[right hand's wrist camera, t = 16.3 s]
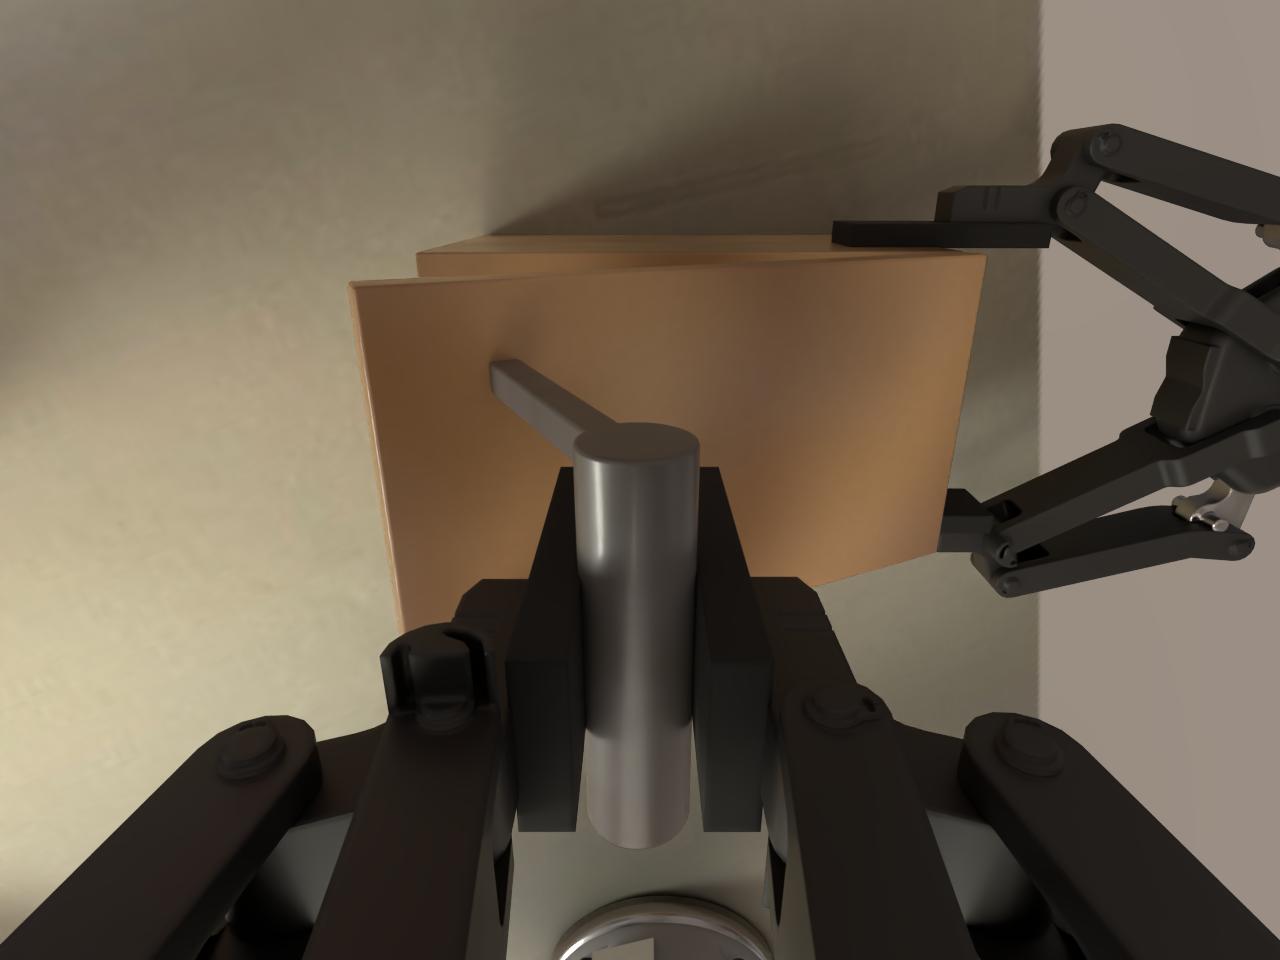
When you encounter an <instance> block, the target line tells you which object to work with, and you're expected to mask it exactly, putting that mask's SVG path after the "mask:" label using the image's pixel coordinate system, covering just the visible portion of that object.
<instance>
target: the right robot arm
mask: <svg viewBox="0 0 1280 960" xmlns="http://www.w3.org/2000/svg"><path fill="white" fill-rule="evenodd" d="M380 662H381V668H382V674H383V680H384V687H385V693H386V699H387V705H388V711H389V715H388V718H387V721H386V722H385V723H383V724H381V725H379V726H377V727H375V728H372V729H369V730H365V731H362V732H359V733H355V734H351V735H346V736H342V737H337V738H333V739H328V740H324V741H319V742H316V737H315V733H314V730H313V729H312V728H311V727H310V726H309V725H308V724H307V723H306V722H305V720H302V719H298V718H295V717H292V716H288V715H280V716H263V717H259V718H256V719H252V720H248V721H244V722H241V723H239V724H236V725H234V726H232V727H230V728H228V729H226V730H224V731H222V732H220V733H218V734H216V735H215V736H214V737H213V738H211V739H210V740H209V741H207V742H206V743H205V744H203V745H202V746H201V747H200V748H198V749H197V750H196V751H195V752H194V753H193V754H192V755H191V756H190V757H189V758H188V759H187V760H186V761H185V762H184V763H183V764H182V765H181V766H180V767H179V768H178V769H177V770H176V771H175V772H174V773H173V774H172V775H171V776H170V777H169V778H168V779H167V780H166V781H165V782H164V783H163V784H162V785H161V786H160V787H159V788H158V789H157V790H156V791H155V792H154V793H153V794H152V795H151V796H150V797H149V798H148V799H147V800H146V801H145V802H144V803H143V804H142V805H141V806H140V807H139V808H138V809H137V810H136V811H135V812H134V813H133V814H132V815H131V816H130V817H129V818H128V819H127V820H126V821H125V822H124V823H123V824H122V825H121V826H120V827H119V828H118V829H117V830H116V831H115V832H113V833H112V834H111V835H110V836H109V837H108V838H107V839H106V840H105V841H104V842H103V843H102V844H101V845H100V846H99V847H98V848H97V849H96V850H95V851H94V852H93V853H92V854H91V855H90V856H89V857H88V858H87V859H86V860H85V861H84V862H83V863H82V864H81V865H80V866H79V867H78V868H77V869H76V870H75V871H74V872H73V873H72V874H71V875H70V876H69V877H68V878H67V879H66V880H65V881H64V882H63V883H62V884H61V885H60V886H59V887H58V888H57V889H56V890H55V891H54V892H53V893H52V894H51V895H50V896H49V897H48V898H47V899H46V900H45V901H44V902H43V903H42V904H41V905H40V906H39V907H38V908H37V909H36V910H35V911H34V912H33V913H32V914H31V915H30V916H29V917H28V918H27V919H26V920H25V921H24V922H23V923H22V924H21V925H20V926H19V927H18V928H17V929H16V930H15V931H14V932H13V933H12V934H11V935H10V936H8V937H7V938H6V939H5V940H4V941H3V942H2V943H1V944H0V960H506V953H507V942H508V930H509V919H510V907H511V896H512V884H513V873H514V858H513V847H512V836H511V833H512V828H513V823H514V818H515V813H516V808H517V817H518V829H519V832H576V822H577V812H578V802H579V792H580V782H581V772H582V762H583V752H584V742H585V732H586V718H585V690H584V662H583V634H582V606H581V579H580V577H579V575H578V570H577V547H576V521H575V496H574V471H573V467H560V471H559V474H558V478H557V481H556V485H555V488H554V491H553V495H552V498H551V502H550V505H549V509H548V512H547V516H546V519H545V523H544V526H543V529H542V533H541V536H540V540H539V543H538V547H537V550H536V554H535V557H534V561H533V564H532V567H531V571H530V574H529V578H528V579H481V580H480V581H479V582H478V583H477V584H475V585H474V586H473V587H472V588H470V589H469V590H468V591H467V592H466V593H464V594H463V595H462V598H461V600H460V602H459V605H458V607H457V609H456V611H455V616H454V617H453V618H452V620H451V622H444V623H438V624H431V625H425V626H422V627H420V628H417V629H414V630H411V631H409V632H406V633H404V634H403V635H401V636H400V637H398V638H397V639H395V640H394V641H392V642H391V643H389V644H388V646H387V647H386V649H385V650H384V651H383V653H382V654H381V655H380ZM692 719H693V729H694V739H695V749H696V759H697V769H698V779H699V789H700V799H701V809H702V819H703V829H704V832H761V820H762V808H764V813H765V818H766V823H767V828H768V833H769V836H768V847H767V858H766V869H765V880H764V891H763V902H762V907H764V908H770V917H771V929H772V940H773V952H774V960H1280V940H1279V939H1278V938H1277V937H1276V936H1275V935H1274V934H1273V933H1272V932H1271V931H1270V930H1269V929H1268V928H1267V927H1266V926H1265V925H1264V924H1263V923H1262V922H1261V921H1260V920H1259V919H1258V918H1257V917H1256V916H1255V915H1254V914H1253V913H1252V912H1251V911H1250V910H1249V909H1247V907H1245V906H1244V905H1243V904H1242V903H1241V902H1240V901H1239V900H1238V899H1237V898H1236V897H1235V896H1234V895H1233V894H1232V893H1231V892H1230V891H1229V890H1228V889H1227V888H1226V887H1225V886H1224V885H1223V884H1222V883H1221V882H1220V881H1219V880H1218V879H1217V878H1216V877H1215V876H1214V875H1213V874H1212V873H1211V872H1210V871H1209V870H1208V869H1207V868H1206V867H1205V866H1204V865H1203V864H1202V863H1201V862H1200V861H1199V860H1198V859H1197V858H1196V857H1195V856H1194V855H1193V854H1192V853H1191V852H1190V851H1188V849H1187V848H1186V847H1184V846H1183V845H1182V844H1181V843H1180V842H1179V841H1178V840H1177V839H1176V838H1175V837H1174V836H1173V835H1172V834H1171V833H1170V832H1169V831H1168V830H1167V829H1166V828H1165V827H1164V826H1163V825H1162V824H1161V823H1160V822H1159V821H1158V820H1157V819H1156V818H1155V817H1154V816H1153V815H1152V814H1151V813H1150V812H1149V811H1148V810H1147V809H1146V808H1145V807H1144V806H1143V805H1142V804H1141V803H1140V802H1139V801H1138V800H1137V799H1136V798H1135V797H1134V796H1133V795H1132V794H1131V793H1130V792H1129V791H1128V790H1127V789H1126V788H1124V787H1123V786H1122V785H1121V784H1120V783H1119V782H1118V781H1117V780H1116V779H1115V778H1114V777H1113V776H1112V775H1111V774H1110V773H1109V772H1108V771H1107V770H1106V769H1105V768H1104V767H1103V766H1102V765H1101V764H1100V763H1099V762H1098V761H1097V760H1096V759H1095V758H1094V757H1093V756H1092V755H1091V754H1090V753H1089V752H1088V751H1087V750H1086V749H1085V748H1084V747H1083V746H1082V745H1080V744H1079V743H1078V742H1077V741H1075V740H1074V739H1073V738H1071V737H1070V736H1069V735H1067V734H1066V733H1065V732H1063V731H1062V730H1060V729H1058V728H1056V727H1054V726H1052V725H1050V724H1048V723H1046V722H1043V721H1041V720H1039V719H1036V718H1032V717H1028V716H1024V715H1021V714H1017V713H1000V712H992V713H988V714H985V715H981V716H978V717H975V718H974V719H973V720H972V721H971V722H970V723H969V725H968V726H967V727H966V729H965V733H964V738H963V739H959V738H955V737H951V736H946V735H942V734H937V733H933V732H928V731H924V730H920V729H917V728H914V727H910V726H907V725H904V724H902V723H900V722H898V721H896V720H894V719H893V717H892V714H891V712H890V710H889V709H888V707H887V706H886V704H885V703H884V701H883V700H882V699H881V698H880V697H879V696H878V695H876V694H875V693H874V692H872V691H871V690H870V689H868V688H867V687H865V686H862V685H860V684H858V683H857V682H856V680H855V678H854V675H853V673H852V671H851V669H850V666H849V664H848V662H847V660H846V657H845V655H844V653H843V651H842V648H841V646H840V644H839V642H838V639H837V637H836V635H835V633H834V631H832V626H831V624H830V621H829V619H828V617H827V615H825V610H824V608H823V606H822V603H821V601H820V599H819V597H818V594H817V592H815V591H814V590H813V589H812V588H810V587H809V586H808V585H807V584H806V583H804V582H803V581H802V580H801V579H799V578H798V577H750V574H749V570H748V567H747V563H746V560H745V556H744V553H743V549H742V546H741V542H740V539H739V536H738V532H737V529H736V525H735V522H734V518H733V515H732V511H731V508H730V504H729V501H728V497H727V494H726V491H725V487H724V484H723V480H722V477H721V473H720V470H719V467H700V474H699V506H698V538H697V570H696V602H695V634H694V667H693V699H692Z"/></svg>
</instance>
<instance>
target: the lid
mask: <svg viewBox="0 0 1280 960" xmlns="http://www.w3.org/2000/svg"><path fill="white" fill-rule="evenodd" d="M986 261H987V255H985V254H978V253H965V252H948V253H927V254H906V255H886V256H865V257H844V258H824V259H803V260H782V261H761V262H741V263H720V264H699V265H679V266H658V267H637V268H616V269H596V270H575V271H554V272H534V273H513V274H492V275H472V276H451V277H430V278H409V279H389V280H368V281H351V282H349V283H348V286H347V288H348V294H349V301H350V308H351V314H352V321H353V327H354V334H355V341H356V347H357V354H358V361H359V367H360V374H361V381H362V387H363V394H364V401H365V407H366V414H367V421H368V427H369V434H370V441H371V447H372V454H373V461H374V467H375V474H376V481H377V487H378V494H379V501H380V507H381V514H382V520H383V527H384V534H385V540H386V547H387V554H388V560H389V567H390V574H391V580H392V587H393V594H394V600H395V607H396V614H397V620H398V627H399V634H400V636H401V635H403V634H404V633H406V632H409V631H411V630H414V629H417V628H420V627H422V626H425V625H431V624H438V623H444V622H451V620H452V618H453V617H454V616H455V611H456V609H457V607H458V605H459V602H460V600H461V598H462V595H463V594H464V593H466V592H467V591H468V590H469V589H470V588H472V587H473V586H474V585H475V584H477V583H478V582H479V581H480V580H481V579H528V578H529V574H530V571H531V567H532V564H533V561H534V557H535V554H536V550H537V547H538V543H539V540H540V536H541V533H542V529H543V526H544V523H545V519H546V516H547V512H548V509H549V505H550V502H551V498H552V495H553V491H554V488H555V485H556V481H557V478H558V474H559V471H560V467H573V471H574V496H575V521H576V547H577V570H578V575H579V577H580V579H581V606H582V634H583V662H584V690H585V718H586V732H585V742H584V750H585V776H586V801H587V814H588V818H589V821H590V823H591V825H592V826H593V828H594V829H595V831H596V832H597V833H598V834H599V835H600V836H601V837H602V838H603V839H605V840H606V841H608V842H610V843H612V844H614V845H616V846H619V847H623V848H627V849H648V848H653V847H656V846H659V845H662V844H664V843H666V842H668V841H669V840H671V839H672V838H673V837H674V836H676V835H677V834H678V832H679V831H680V830H681V829H682V827H683V826H684V824H685V822H686V820H687V817H688V813H689V795H690V763H691V731H692V699H693V667H694V634H695V602H696V570H697V538H698V506H699V474H700V467H719V470H720V473H721V477H722V480H723V484H724V487H725V491H726V494H727V497H728V501H729V504H730V508H731V511H732V515H733V518H734V522H735V525H736V529H737V532H738V536H739V539H740V542H741V546H742V549H743V553H744V556H745V560H746V563H747V567H748V570H749V574H750V577H798V578H799V579H801V580H802V581H803V582H804V583H806V584H807V585H808V586H809V587H810V588H813V587H817V586H820V585H824V584H827V583H831V582H834V581H838V580H841V579H845V578H848V577H852V576H855V575H859V574H862V573H866V572H869V571H873V570H876V569H880V568H883V567H887V566H890V565H894V564H897V563H901V562H904V561H908V560H911V559H915V558H918V557H922V556H925V555H929V554H932V553H935V552H936V551H937V547H938V541H939V535H940V529H941V523H942V518H943V512H944V506H945V500H946V494H947V488H948V483H949V477H950V471H951V465H952V459H953V453H954V448H955V442H956V436H957V430H958V424H959V418H960V413H961V407H962V401H963V395H964V389H965V383H966V378H967V372H968V366H969V360H970V354H971V348H972V343H973V337H974V331H975V325H976V319H977V313H978V308H979V302H980V296H981V290H982V284H983V278H984V273H985V267H986Z"/></svg>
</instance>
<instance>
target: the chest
mask: <svg viewBox="0 0 1280 960" xmlns="http://www.w3.org/2000/svg"><path fill="white" fill-rule="evenodd" d="M831 240H832V235H484V236H480V237H476V238H472V239H468V240H464V241H460V242H456V243H453V244H449V245H445V246H441V247H437V248H433V249H429V250H425V251H421V252H418V253H416V261H417V269H418V276H419V278H430V277H451V276H472V275H492V274H513V273H534V272H554V271H575V270H596V269H616V268H637V267H658V266H679V265H699V264H720V263H741V262H761V261H782V260H803V259H824V258H844V257H865V256H886V255H906V254H927V253H948V252H962V251H957V250H951V249H946V248H940V247H848V246H844V245H840V244H836V243H832V242H831Z"/></svg>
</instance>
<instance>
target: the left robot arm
mask: <svg viewBox="0 0 1280 960" xmlns="http://www.w3.org/2000/svg"><path fill="white" fill-rule="evenodd" d="M1050 153H1051V161H1050V163H1049V165H1048V167H1047V169H1046V170H1045V172H1044V173H1043V175H1042V176H1041V177H1040V178H1039V179H1038V180H1037V181H1035V182H1033V183H1032V184H1029V185H1026V186H953V187H950V188H948V189H945V190H943V191H940V192H938V197H937V204H936V211H935V218H934V221H833V229H832V240H831V242H832V243H836V244H840V245H844V246H848V247H940V248H1049V244H1050V239H1051V237H1052V238H1054V239H1055V240H1057V241H1058V242H1060V243H1061V244H1063V245H1064V246H1066V247H1067V248H1069V249H1070V250H1072V251H1073V252H1075V253H1076V254H1078V255H1079V256H1081V257H1082V258H1084V259H1085V260H1087V261H1088V262H1090V263H1091V264H1093V265H1094V266H1096V267H1097V268H1099V269H1100V270H1102V271H1103V272H1105V273H1106V274H1108V275H1109V276H1111V277H1112V278H1114V279H1115V280H1117V281H1118V282H1120V283H1121V284H1123V285H1124V286H1126V287H1127V288H1129V289H1130V290H1132V291H1133V292H1135V293H1136V294H1138V295H1139V296H1141V297H1142V298H1144V299H1145V300H1146V301H1148V302H1150V303H1151V304H1152V305H1154V307H1153V308H1154V309H1155V310H1156V311H1157V312H1159V313H1160V314H1162V315H1163V316H1165V317H1166V318H1168V319H1169V320H1171V321H1172V322H1174V323H1175V324H1177V325H1178V326H1180V327H1181V328H1183V329H1184V330H1183V331H1182V332H1181V334H1180V336H1172V337H1171V340H1170V344H1169V348H1168V351H1167V355H1166V377H1165V379H1164V381H1163V383H1162V385H1161V386H1160V388H1159V390H1158V392H1157V394H1156V395H1155V398H1154V402H1153V405H1152V409H1151V412H1150V415H1151V416H1153V417H1151V418H1148V419H1146V420H1144V421H1142V422H1140V423H1138V424H1135V425H1133V426H1131V427H1129V428H1127V429H1125V430H1123V431H1122V432H1121V433H1120V436H1119V439H1118V440H1116V441H1115V442H1112V443H1110V444H1108V445H1106V446H1104V447H1102V448H1100V449H1097V450H1095V451H1093V452H1091V453H1089V454H1087V455H1084V456H1082V457H1080V458H1078V459H1076V460H1073V461H1071V462H1069V463H1067V464H1065V465H1063V466H1060V467H1058V468H1056V469H1054V470H1052V471H1050V472H1047V473H1045V474H1043V475H1041V476H1039V477H1037V478H1034V479H1032V480H1030V481H1028V482H1026V483H1024V484H1021V485H1019V486H1017V487H1015V488H1013V489H1011V490H1008V491H1006V492H1004V493H1002V494H1000V495H998V496H995V497H993V498H991V499H989V500H987V501H985V502H982V503H980V502H979V501H978V500H976V499H975V498H974V497H973V496H972V495H971V494H970V493H969V492H968V491H967V490H966V489H947V494H946V500H945V506H944V512H943V518H942V523H941V529H940V535H939V541H938V547H937V551H936V552H972V554H971V559H970V560H971V562H972V564H973V566H974V567H975V568H976V569H977V570H978V571H979V572H980V573H981V575H982V576H983V577H984V578H985V579H986V580H987V581H988V583H989V584H990V585H991V586H992V587H993V588H994V589H995V590H996V592H997V593H998V594H999V595H1001V596H1002V597H1006V598H1011V597H1017V596H1021V595H1026V594H1030V593H1035V592H1039V591H1044V590H1048V589H1052V588H1057V587H1062V586H1066V585H1070V584H1075V583H1079V582H1084V581H1088V580H1093V579H1097V578H1102V577H1106V576H1111V575H1115V574H1120V573H1124V572H1129V571H1133V570H1138V569H1142V568H1147V567H1151V566H1156V565H1160V564H1165V563H1169V562H1174V561H1178V560H1183V559H1187V558H1202V559H1216V560H1229V561H1236V560H1241V559H1243V558H1245V557H1247V556H1248V555H1249V554H1250V553H1251V552H1252V550H1253V549H1254V546H1255V541H1254V538H1253V537H1252V536H1251V535H1250V534H1248V533H1246V532H1244V531H1243V530H1241V529H1240V527H1241V525H1242V523H1243V521H1244V518H1245V516H1246V514H1247V511H1248V509H1249V507H1250V504H1251V502H1252V500H1253V498H1254V495H1255V494H1260V493H1265V492H1268V491H1270V490H1273V489H1275V488H1277V487H1280V267H1279V268H1277V269H1275V270H1273V271H1272V272H1270V273H1268V274H1267V275H1265V276H1263V277H1262V278H1260V279H1258V280H1257V281H1255V282H1253V283H1252V284H1250V285H1248V286H1247V287H1245V288H1243V289H1242V290H1241V289H1238V288H1236V287H1233V286H1230V285H1228V284H1226V283H1225V282H1223V281H1222V280H1220V279H1219V278H1217V277H1216V276H1215V275H1213V274H1212V273H1210V272H1209V271H1207V270H1206V269H1204V268H1203V267H1202V266H1200V265H1199V264H1197V263H1196V262H1194V261H1193V260H1191V259H1190V258H1188V257H1187V256H1186V255H1184V254H1183V253H1181V252H1180V251H1178V250H1177V249H1176V248H1174V247H1173V246H1171V245H1170V244H1168V243H1167V242H1165V241H1164V240H1162V239H1161V238H1160V237H1158V236H1157V235H1155V234H1154V233H1152V232H1151V231H1149V230H1148V229H1146V228H1145V227H1144V226H1142V225H1141V224H1139V223H1138V222H1137V221H1135V220H1134V219H1132V218H1131V217H1129V216H1128V215H1126V214H1125V213H1123V212H1122V211H1121V210H1119V209H1118V208H1116V207H1115V206H1113V205H1112V204H1110V203H1109V202H1108V201H1106V200H1105V199H1103V198H1102V197H1100V196H1099V195H1097V194H1096V193H1095V190H1096V189H1097V187H1098V185H1099V183H1100V182H1101V181H1104V182H1107V183H1110V184H1113V185H1116V186H1119V187H1122V188H1125V189H1129V190H1132V191H1135V192H1138V193H1141V194H1144V195H1147V196H1150V197H1154V198H1157V199H1160V200H1163V201H1166V202H1169V203H1172V204H1175V205H1179V206H1182V207H1185V208H1188V209H1191V210H1194V211H1197V212H1200V213H1203V214H1207V215H1210V216H1213V217H1216V218H1219V219H1222V220H1226V221H1230V222H1236V223H1245V224H1258V225H1257V227H1256V230H1255V233H1256V235H1257V236H1258V237H1260V238H1263V241H1264V243H1265V244H1266V245H1267V246H1269V247H1273V248H1277V249H1279V250H1280V177H1278V176H1275V175H1272V174H1269V173H1266V172H1263V171H1260V170H1257V169H1254V168H1251V167H1248V166H1245V165H1242V164H1239V163H1236V162H1233V161H1230V160H1227V159H1224V158H1221V157H1218V156H1215V155H1212V154H1209V153H1206V152H1203V151H1199V150H1196V149H1193V148H1190V147H1187V146H1184V145H1181V144H1178V143H1175V142H1172V141H1169V140H1166V139H1163V138H1160V137H1157V136H1154V135H1151V134H1148V133H1145V132H1142V131H1139V130H1136V129H1133V128H1130V127H1127V126H1124V125H1121V124H1106V125H1100V126H1093V127H1087V128H1080V129H1074V130H1069V131H1066V132H1063V133H1061V134H1060V135H1059V136H1058V137H1057V138H1056V139H1055V141H1054V142H1053V144H1052V147H1051V151H1050ZM1208 477H1211V478H1212V479H1213V480H1215V481H1214V483H1213V485H1212V486H1211V487H1210V488H1209V490H1207V491H1206V492H1204V493H1202V494H1200V495H1195V496H1189V497H1187V498H1186V497H1184V496H1177V497H1175V498H1174V499H1173V501H1172V506H1149V507H1144V508H1139V509H1134V510H1130V511H1125V512H1121V513H1117V514H1112V515H1108V516H1104V517H1099V516H1102V515H1104V514H1106V513H1108V512H1111V511H1113V510H1115V509H1117V508H1120V507H1122V506H1124V505H1126V504H1128V503H1131V502H1133V501H1135V500H1138V499H1140V498H1142V497H1144V496H1147V495H1149V494H1151V493H1153V492H1156V491H1158V490H1160V489H1162V488H1165V487H1185V486H1189V485H1192V484H1195V483H1197V482H1199V481H1202V480H1204V479H1206V478H1208ZM1097 517H1099V518H1097ZM552 960H773V959H772V955H771V952H770V950H769V947H768V945H767V944H766V942H765V940H764V939H763V938H762V936H761V935H760V934H759V932H758V931H757V930H756V929H755V928H754V927H753V926H752V925H750V924H749V923H748V922H747V921H745V920H744V919H743V918H741V917H740V916H738V915H736V914H735V913H733V912H731V911H729V910H727V909H725V908H722V907H720V906H718V905H715V904H712V903H709V902H705V901H702V900H698V899H692V898H687V897H678V896H646V897H638V898H632V899H627V900H623V901H619V902H616V903H613V904H610V905H607V906H605V907H602V908H600V909H598V910H596V911H594V912H592V913H590V914H588V915H587V916H585V917H584V918H582V919H580V920H579V921H578V922H577V923H575V924H574V925H573V926H572V927H571V928H570V929H569V930H568V931H567V932H566V933H565V934H564V936H563V937H562V938H561V940H560V941H559V943H558V944H557V946H556V948H555V951H554V953H553V956H552Z"/></svg>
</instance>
